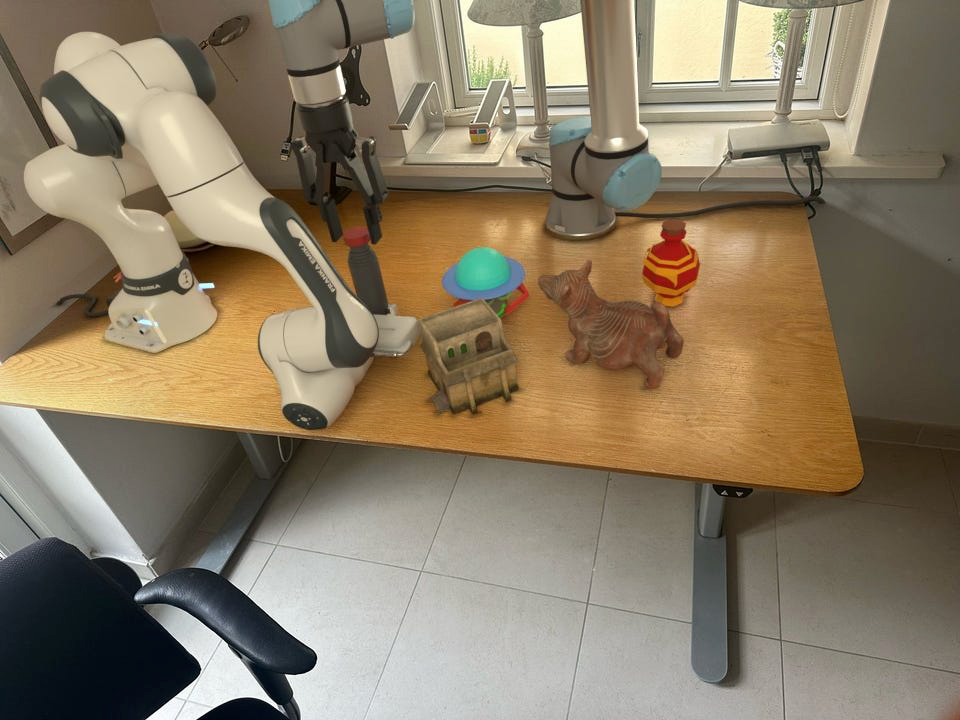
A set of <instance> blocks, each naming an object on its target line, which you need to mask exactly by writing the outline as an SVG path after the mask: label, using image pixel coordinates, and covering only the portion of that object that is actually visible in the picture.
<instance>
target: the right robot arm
mask: <svg viewBox="0 0 960 720" xmlns="http://www.w3.org/2000/svg"><path fill="white" fill-rule="evenodd" d="M415 1H416V0H267V2H268V6H269V10H270V15H271V19H272V26H273V27H274V31H275V35H276V38H277V41H278V44H279V48H280V52H281V54H282V58H283V62H284V66H285V68H286V72H287V78H288V81H289V85H290V88H291V92H292V95H293V100H294V102H295V103H297V104H298V105H297V107H296V110H297V114H298V116H299V120H300V124H301V127H302V129H303V131H304V132H305V134H304V136H302V135H299V136H298V137H296V138H295V139H294V140H293V141H291V142H290V148H291V150H292V152H293V153H294V155H295V157H296V163H297V168H298V173H299V177H300V182H301V183H300V184H301V187H302V192H303V197H304V200H305V201H306V202H314V203H315V204H316V205H317V206H318V210H319V213H320V216H321V220H322V221H323V222H324V223H326V224H327V229H328V232H329V235H330V239H331V243H337V242H338V241H339V240H340V239H341V238H343V233H344V231H343V227H342V223H341V220H340V216H339V212H338V209H337V205H336V201H335V199H334V198H330V197H331V196H332V194H331V193H330V187H331V172H332V171H331V170H332V169H331V168H332V163H337V164H340V165H341V166H342V168H343V169H344V170H346V171H347V173H348V175H349V176H350V178H351V180H352V182H353V183H354V186H355V187H356V189H357V190H358V192H359V194H360V196H361V198H362V200H363V201H364V203H365V205H364V206H363V207H362V210H363V215H364V219H365V223H366V228H368V232H369V236H370V243H371V245H377V244H378V243H379V241H380V240H381V239H382V238H383V233H382V229H381V224H380V223H381V222H382V221H383V214H382V210H381V209H382V208H381V204H383V203H384V202H385V200H386V199H387V198H388V197H389V196H390V194H389V193H390V192H389V190H388V187H387V184H386V180H385V177H384V174H383V170H382V167H381V163H380V160H379V158H378V157H379V156H378V153H377V139H376V138H375V137H374V135H373V136H372V135H370V136H369V137H364V136H361V135H360V136H359V135H358V133H357V131H356V130H355V128H354V124H353V122H354V121H353V114H352V111H351V107H350V101H349V98H348V96H346V95H345V94H346V92H347V90H346V85H345V82H344V80H345V79H344V76H343V72H342V67H341V65H340V64H341V63H340V59H339V53H338V51H340V50H344V49H349V48H352V47H357V46H361V45H366V44H370V43H374V42H379V41H383V40H387V39H390V40H391V39H395V38H396V37H399V36H402V35H405V34H408V33H409V32H411V31H412V30H413V28H414V25H415V19H416V15H415V13H416V12H415V6H414V2H415ZM579 2H580V14H581V24H582V25H581V26H582V36H583V47H584V59H585V71H586V83H587V92H588V93H587V95H588V105H589V115H590V116H580V117H573V118H570V119H569V118H568V119H566V120H563V121H560V122H558V123H556V124H555V125H554V126H552V128H551V129H550V131H549V141H548V147H549V158H550V174H551V175H550V176H551V188H552V189H551V190H552V191H551V193H552V194H551V198H550V202H549V206H548V209H547V213H546V216H545V229H546V232H547V233H548V234H549V236H550V235H551V236H552V237H553V238H556V239H558V240H561V241H567V242H586V241H587V242H588V241H594V240H597V239H600V238H604V237H605V236H607V235H608V234H610V233H611V232H613V230H614V229H615V227H616V223H617V218H616V217H619V218H620V217H624V218H625V217H626V218H641V219H642V218H643V219H674V218H675V219H676V218H684V217H693V216H698V215H703V214H706V213H711V212H716V211H721V210H727V209H733V208H741V207H750V206H794V205H800V204H804V203H808V202H813V201H815V202H817V203H818V204H822V205H823V204H826V203H827V202H826V201H825V199H823V198H822V197H821V196H818V195H811V196H810V195H809V196H805V197H802V198H798V199H788V200H787V199H785V200H784V199H783V200H781V199H780V200H779V199H778V200H776V199H774V200H773V199H770V200H769V199H766V200H765V199H763V200H761V199H759V200H748V201H739V202H732V203H726V204H725V203H724V204H719V205H713V206H709V207H705V208H700V209H696V210H690V211H689V210H688V211H682V212H681V211H680V212H670V213H669V212H666V213H663V212H662V213H661V212H659V213H655V212H654V213H653V212H652V213H648V212H647V213H646V212H633V211H635V210H637V209H638V208H640V207H642V206H644V205H645V204H646V203H647V202H648V201H650V199H651V198H652V196H653V194H655V192H656V191H657V189H658V187H659V186H660V184H661V183H660V182H661V179H662V174H663V170H662V163H661V161H660V160H659V159H658V158H657V156H656V155H654V154H653V153H650V149H649V132H648V129H647V128H645V127H644V126H643V125H641V124H640V113H639V112H640V111H639V90H638V67H637V65H638V64H637V44H636V43H637V41H636V40H637V39H636V19H635V0H579ZM356 147H358V152H359V154H361V159H362V163H363V164H362V163H361V161H360V156H359V154H358V152H357V150H356ZM311 150H312V151H313V152H314V153H315V162H313V157H312V152H311ZM314 163H315V164H314ZM314 165H315V167H316V173H315V167H314ZM363 165H364V166H363ZM615 210H616V211H615Z"/></svg>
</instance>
